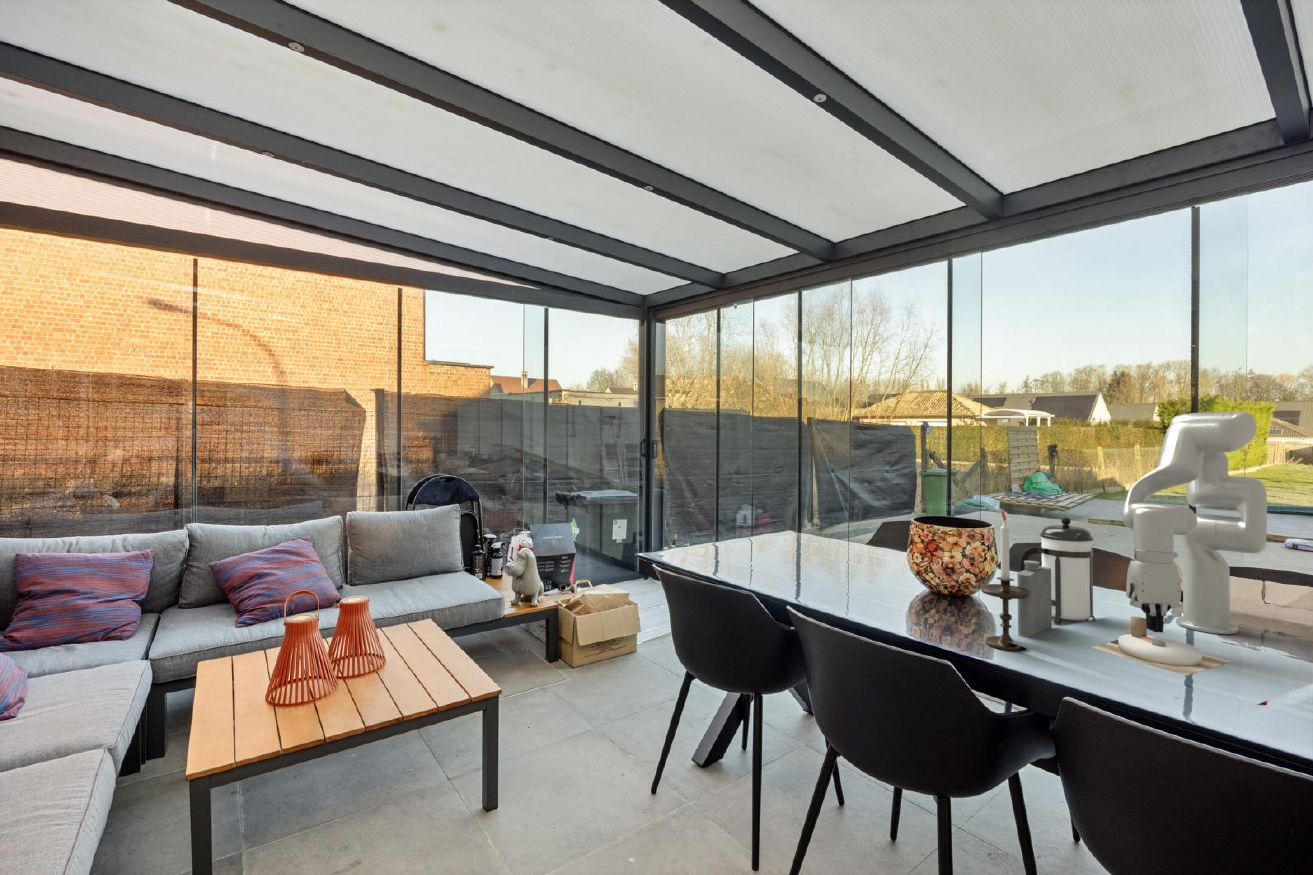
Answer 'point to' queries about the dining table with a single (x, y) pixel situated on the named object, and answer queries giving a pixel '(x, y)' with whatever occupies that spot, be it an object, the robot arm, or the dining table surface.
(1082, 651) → the dining table surface
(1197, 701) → the dining table surface
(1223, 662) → the dial base
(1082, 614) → the coffee press
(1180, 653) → the cream oval with knob
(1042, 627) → the hip flask
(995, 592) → the candlestick
